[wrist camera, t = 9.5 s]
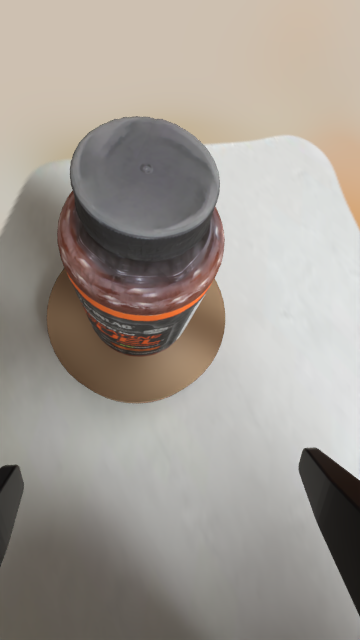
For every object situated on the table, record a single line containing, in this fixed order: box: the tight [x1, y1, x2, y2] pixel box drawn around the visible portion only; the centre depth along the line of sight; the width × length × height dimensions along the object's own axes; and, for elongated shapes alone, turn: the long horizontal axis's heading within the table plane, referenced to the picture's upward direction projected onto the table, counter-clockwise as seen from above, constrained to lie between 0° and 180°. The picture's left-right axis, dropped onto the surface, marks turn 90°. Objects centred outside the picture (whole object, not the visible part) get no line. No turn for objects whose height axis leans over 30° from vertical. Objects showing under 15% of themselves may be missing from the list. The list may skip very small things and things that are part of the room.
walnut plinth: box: [47, 268, 225, 403], centre depth 19 cm, size 11×11×2 cm
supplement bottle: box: [57, 116, 225, 357], centre depth 13 cm, size 6×6×11 cm
